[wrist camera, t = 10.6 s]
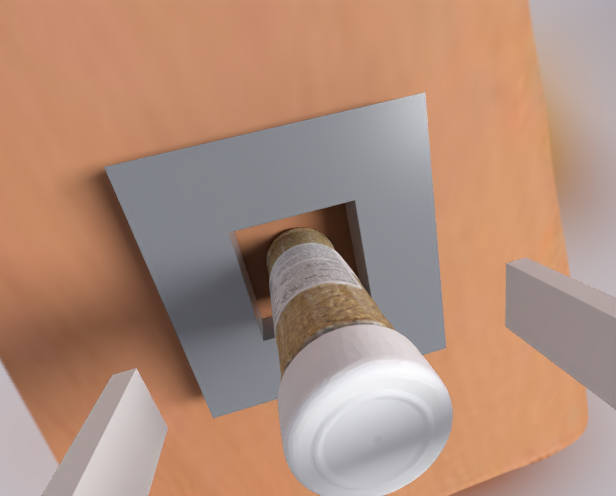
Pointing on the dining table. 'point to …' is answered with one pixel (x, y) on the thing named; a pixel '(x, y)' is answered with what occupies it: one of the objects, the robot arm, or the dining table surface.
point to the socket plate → (278, 205)
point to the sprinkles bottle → (347, 378)
